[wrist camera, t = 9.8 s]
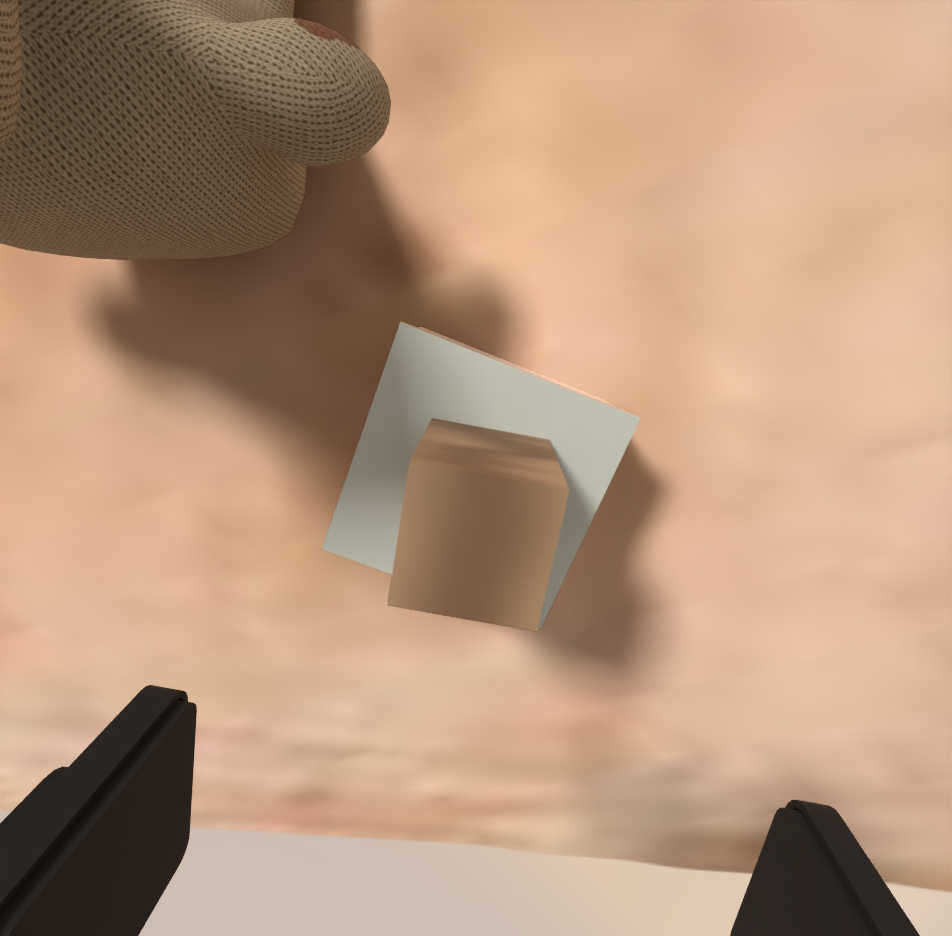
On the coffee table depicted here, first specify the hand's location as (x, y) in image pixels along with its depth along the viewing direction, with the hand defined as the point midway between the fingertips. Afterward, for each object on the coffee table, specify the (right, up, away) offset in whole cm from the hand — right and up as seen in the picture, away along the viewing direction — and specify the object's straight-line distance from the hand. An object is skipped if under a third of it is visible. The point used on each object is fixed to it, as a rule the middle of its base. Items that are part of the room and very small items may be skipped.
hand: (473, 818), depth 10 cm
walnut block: (0, +5, +16) cm, 17 cm away
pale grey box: (0, +6, +22) cm, 23 cm away
